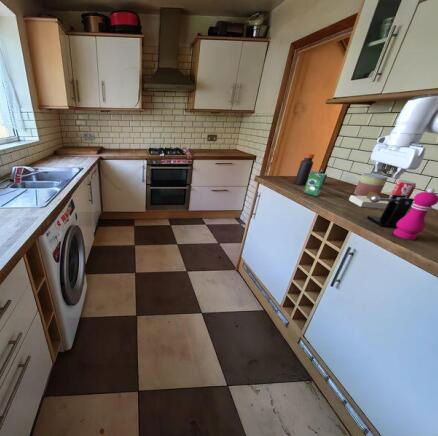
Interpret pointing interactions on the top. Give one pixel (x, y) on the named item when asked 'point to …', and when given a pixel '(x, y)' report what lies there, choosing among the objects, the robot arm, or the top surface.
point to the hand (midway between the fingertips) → (385, 175)
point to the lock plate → (367, 202)
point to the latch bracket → (393, 212)
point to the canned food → (370, 184)
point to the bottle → (304, 170)
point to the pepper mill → (416, 215)
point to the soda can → (403, 188)
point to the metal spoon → (383, 199)
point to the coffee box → (315, 183)
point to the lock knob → (371, 194)
